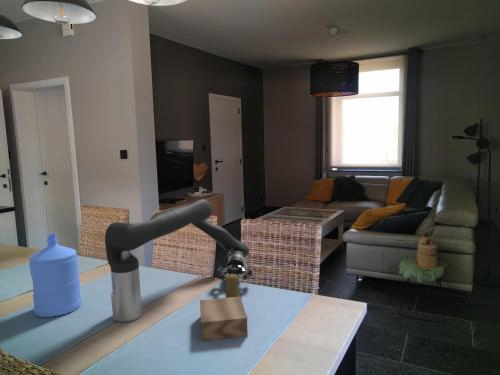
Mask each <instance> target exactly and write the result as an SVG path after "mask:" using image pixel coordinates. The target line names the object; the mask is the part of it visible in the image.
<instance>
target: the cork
mask: <svg viewBox="0 0 500 375" xmlns="http://www.w3.org/2000/svg"><path fill="white" fill-rule="evenodd" d="M239 282H240V277H239V276H237V275H236V274H229V275H227V276H226V277H225V278H224V283H225V284H226V286H225V296H224V298H229V297H241V295H240V289H239Z"/></svg>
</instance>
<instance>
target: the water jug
mask: <svg viewBox="0 0 500 375" xmlns="http://www.w3.org/2000/svg"><path fill="white" fill-rule="evenodd" d="M46 238H47V240H46V242H47V246H46V247H44V248H42V249H41V250H38V251H37V252H35V253H33V254H32V255H31V256H29V259H28V260H29V261H28V262H29V263H28V264H29V265H28V266H29V271H30V277H31V280H32V287H33V288H32V290H33V296H32V298H33V311H34V314H35V315H36V316H38V317H41V318H54V317H53V316H56V317H60V316H59V315H61V316H63V314H64V315H67V314H69V312H70V313H72V312H74V311H76V310H77V309H78V308H80V306H81V305H82V302H83V301H82V296H81V285H80V283H81V282H80V281H81V280H80V275H79V273H80V272H79V265H78V264H79V263H78V262H79V258H78V255H77V250H76V249H75V248H72V247H67V246H64V245H60V244H58V239H57V233H51V234H47V235H46Z"/></svg>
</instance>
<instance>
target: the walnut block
mask: <svg viewBox="0 0 500 375" xmlns="http://www.w3.org/2000/svg"><path fill="white" fill-rule="evenodd" d="M199 307H200V308H199V310H200V328H201V330H200V331H201V333H200V334H201V342H208V341H209V342H210V341H215V340H226V339H234V338H237V339H238V338H244V337H248V336H249V335H248V317H247V313H246V310H245V307H244V303H243V301H242V297H241V296H240V297H229V298H225V297H219V298H209V299H200V300H199Z"/></svg>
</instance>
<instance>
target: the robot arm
mask: <svg viewBox="0 0 500 375" xmlns="http://www.w3.org/2000/svg"><path fill="white" fill-rule="evenodd" d="M212 213H213V206H212V204H211V203H210V201H209V200H207V199H204V198H203V199H197V200H194V201H191V202H189V203H187V204H186V205H182V206H178V207H173V208H169V209H165V210H161V211H158V212H156V213H155V214H153V215H152V216H151V217H150V219H149V220H147V221H142V222H138V223H129V222H120V221H115V222H112V223H110V224H109V225H108V226H107V228H106V231H105V234H104V246H105V247H104V248H105V253H106V259H107V263H108V265H109V268H110V276H111V278H110V280H111V286H112V287H111V290H112V291H111V294H110V298H111V299H110V300H111V311H112V312H111V313H112V321H113V322H115V321H116V322H121V323H126V322H127V323H128V322H131V321H135V320H137V319H139V318H140V317H142V315H143V307H142V294H141V278H140V264H139V259H138V258H137V257H136V256H135V255H133V254H132V251H133V250H136V249H138V248H140V247H141V246H144V245H146V244H147V243H149V242H151V241H153V240H156V239H159V238H163V237H164V236H167V235H170V234H172V233H174V232H177V231H179V230H181V229H183V228H185V227H187V226H189V225H190V224H191V225H193V226H195V227H196V228H198V229H199V230H200V231H202V232H203V233H205V234H206V235H207V236H209V237H211V238H212V239H213V240H214V241H215V242H216V243H217V244H218V245H219V246H220V247H221V248H222V249H223V250H225V251H228V252H227V253H226V254H227V258H228V260H227V265H226V266H225V267H222V266H221V265H219V266H218V268H217V270H216V276H217V278H220V279H221V280H222V281H225V277H226V276H227V275H229V274H236V275H237V276H238V277H239V276H240V277H243V280H247V279H248V276H249V277H253V269H252V265H248V266H247V267H246V262H245V260H246V258H247V256H249V254H250V248H249V247H248V246H247V245H246V244H245V243H244V242H243V241H240V240H238V239H236V238H235V237H234V236H232V234H231V233H229V232H228V231H227V230H226V229H225V228H224V227H221V226H219V225H218V224H214V223H213V222H211V221H209V220H208V219H209V218H210V217H211V216H212Z"/></svg>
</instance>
